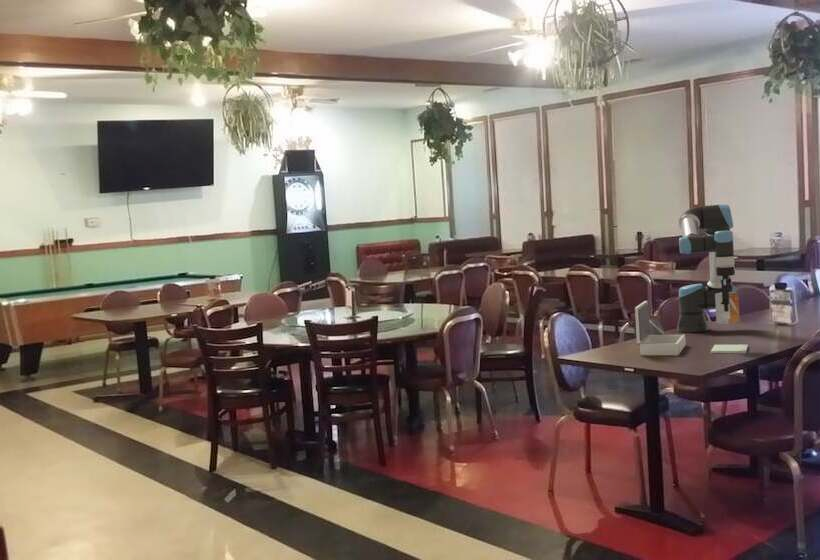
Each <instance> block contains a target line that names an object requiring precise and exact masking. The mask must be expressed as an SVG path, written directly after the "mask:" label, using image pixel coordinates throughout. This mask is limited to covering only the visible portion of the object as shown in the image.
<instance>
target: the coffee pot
mask: <svg viewBox="0 0 820 560" xmlns="http://www.w3.org/2000/svg"><path fill="white" fill-rule="evenodd" d="M663 310H664V308H660V309H659V312H658V314H657V315H649V320H650V321H651V322H652V323H653V324H655V325H656V326H657V327H658V328H659V329H660V330H661V331H662V332H663V333H664V334H662V333H661V332H660V331H659V330H658V329H656V328H655V327H654V326H653V325H652V324H651V323H650V334H649V335H667V333H666V331H665V330H664V328H663V325H662V323H661V322H660V320H661V318H662V316H661V315H662V313H664V312H665V310H664V311H663Z"/></svg>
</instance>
